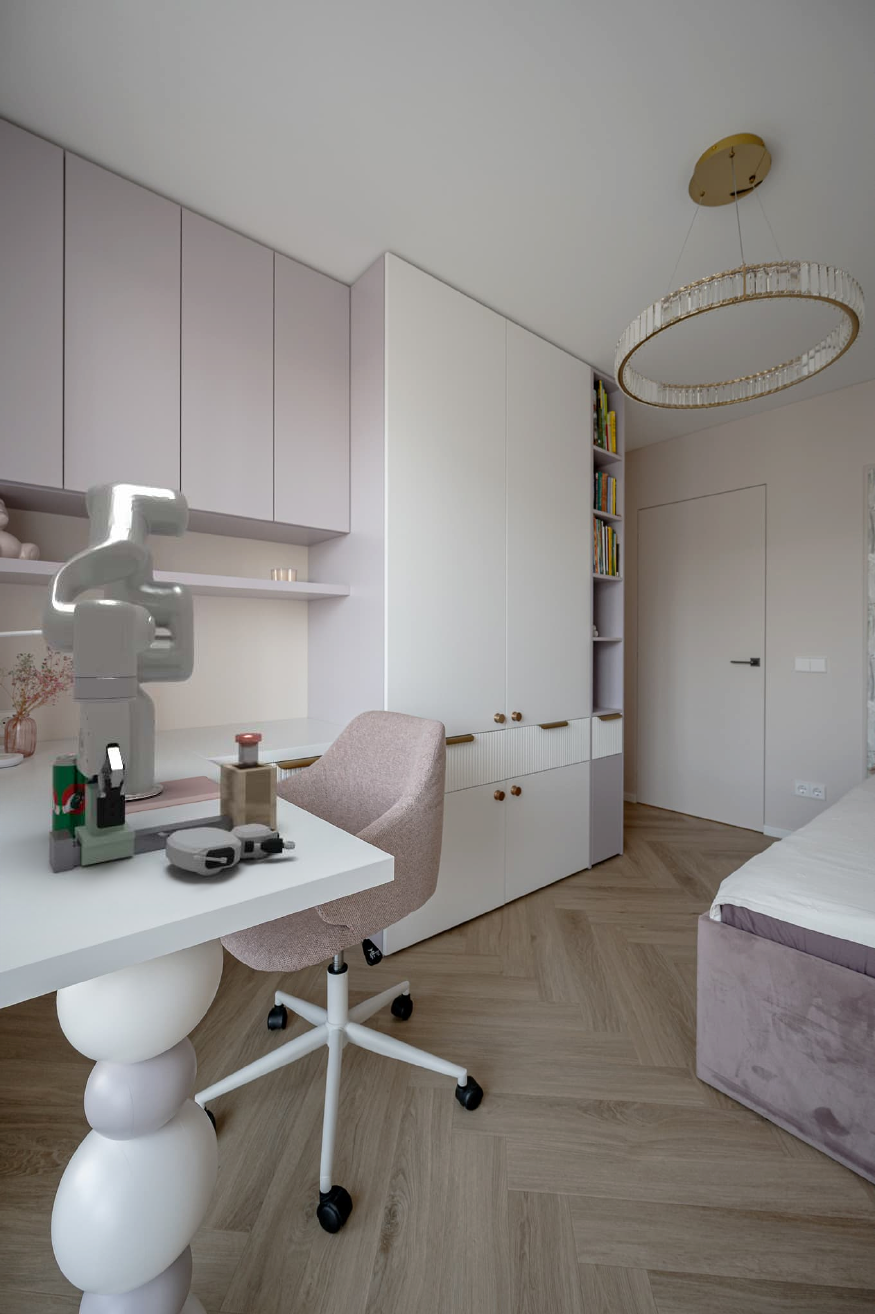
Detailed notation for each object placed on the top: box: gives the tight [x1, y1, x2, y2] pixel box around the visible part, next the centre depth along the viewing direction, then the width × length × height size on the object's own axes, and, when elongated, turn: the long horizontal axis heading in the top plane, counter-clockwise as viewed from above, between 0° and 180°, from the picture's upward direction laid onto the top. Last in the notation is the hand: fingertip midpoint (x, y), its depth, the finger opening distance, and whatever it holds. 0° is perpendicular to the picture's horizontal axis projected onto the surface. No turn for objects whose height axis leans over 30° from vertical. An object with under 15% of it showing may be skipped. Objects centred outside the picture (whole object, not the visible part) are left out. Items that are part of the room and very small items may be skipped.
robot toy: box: [158, 824, 296, 877], centre depth 75 cm, size 12×4×15 cm
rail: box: [48, 814, 233, 874], centre depth 81 cm, size 5×24×4 cm, turn 130°
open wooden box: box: [219, 760, 278, 830], centre depth 90 cm, size 8×6×10 cm
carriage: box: [75, 783, 136, 867], centre depth 77 cm, size 7×6×10 cm
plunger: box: [234, 732, 263, 770], centre depth 90 cm, size 4×4×6 cm
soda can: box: [51, 753, 87, 839], centre depth 86 cm, size 5×5×12 cm
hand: (104, 818), depth 77 cm, fingers open, 7 cm apart
